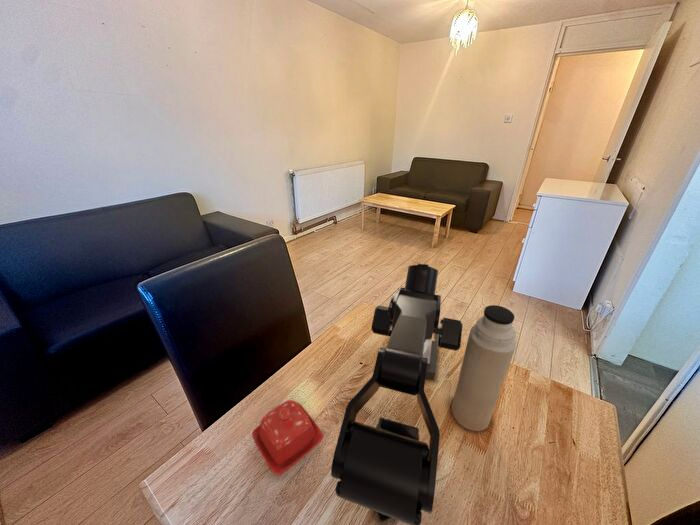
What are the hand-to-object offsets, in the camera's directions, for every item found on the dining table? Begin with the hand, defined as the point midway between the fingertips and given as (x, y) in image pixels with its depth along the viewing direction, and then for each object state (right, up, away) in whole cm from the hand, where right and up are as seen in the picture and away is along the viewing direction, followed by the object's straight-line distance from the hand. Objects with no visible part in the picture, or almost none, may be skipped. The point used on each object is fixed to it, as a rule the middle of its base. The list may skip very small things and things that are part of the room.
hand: (415, 331), depth 70 cm
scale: (+1, -9, +9) cm, 13 cm away
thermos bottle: (+11, -17, -6) cm, 21 cm away
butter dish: (-29, -20, -11) cm, 37 cm away
